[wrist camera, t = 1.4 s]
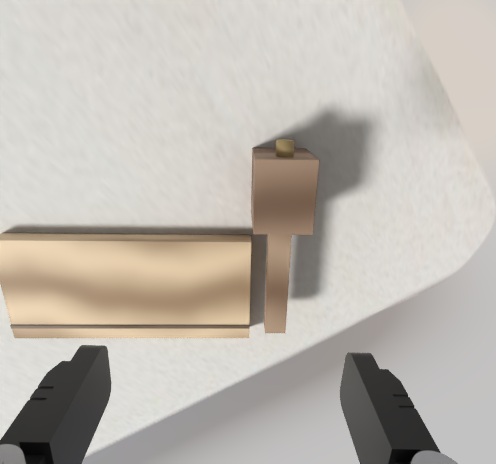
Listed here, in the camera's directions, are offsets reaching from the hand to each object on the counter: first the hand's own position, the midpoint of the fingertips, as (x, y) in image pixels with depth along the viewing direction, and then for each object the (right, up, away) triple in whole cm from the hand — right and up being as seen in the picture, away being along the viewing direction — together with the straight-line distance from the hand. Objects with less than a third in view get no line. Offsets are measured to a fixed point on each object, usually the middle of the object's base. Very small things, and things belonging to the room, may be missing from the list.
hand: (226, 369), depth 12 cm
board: (-9, 0, +19) cm, 21 cm away
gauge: (+3, +5, +17) cm, 18 cm away
